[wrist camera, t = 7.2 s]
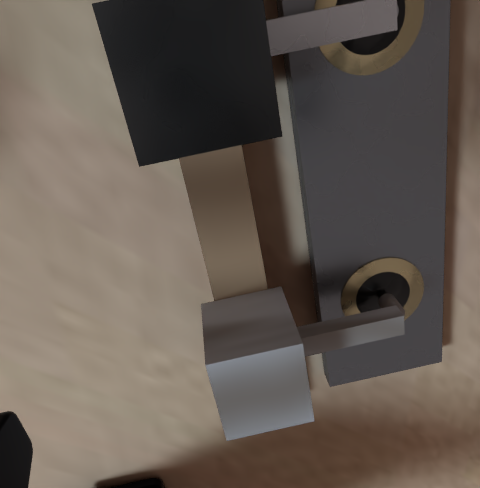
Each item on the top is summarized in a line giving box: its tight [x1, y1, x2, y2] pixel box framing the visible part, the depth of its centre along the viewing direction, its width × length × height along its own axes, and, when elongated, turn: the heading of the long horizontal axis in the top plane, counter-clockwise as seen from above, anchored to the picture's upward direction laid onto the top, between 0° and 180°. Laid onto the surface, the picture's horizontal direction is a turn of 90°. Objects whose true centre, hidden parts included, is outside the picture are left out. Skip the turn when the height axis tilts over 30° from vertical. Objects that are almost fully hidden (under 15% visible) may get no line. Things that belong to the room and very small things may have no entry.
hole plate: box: [277, 0, 450, 387], centre depth 19 cm, size 22×6×1 cm, turn 10°
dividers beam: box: [179, 145, 405, 441], centre depth 17 cm, size 25×9×6 cm, turn 10°
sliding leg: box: [92, 0, 399, 167], centre depth 12 cm, size 4×9×8 cm, turn 100°
